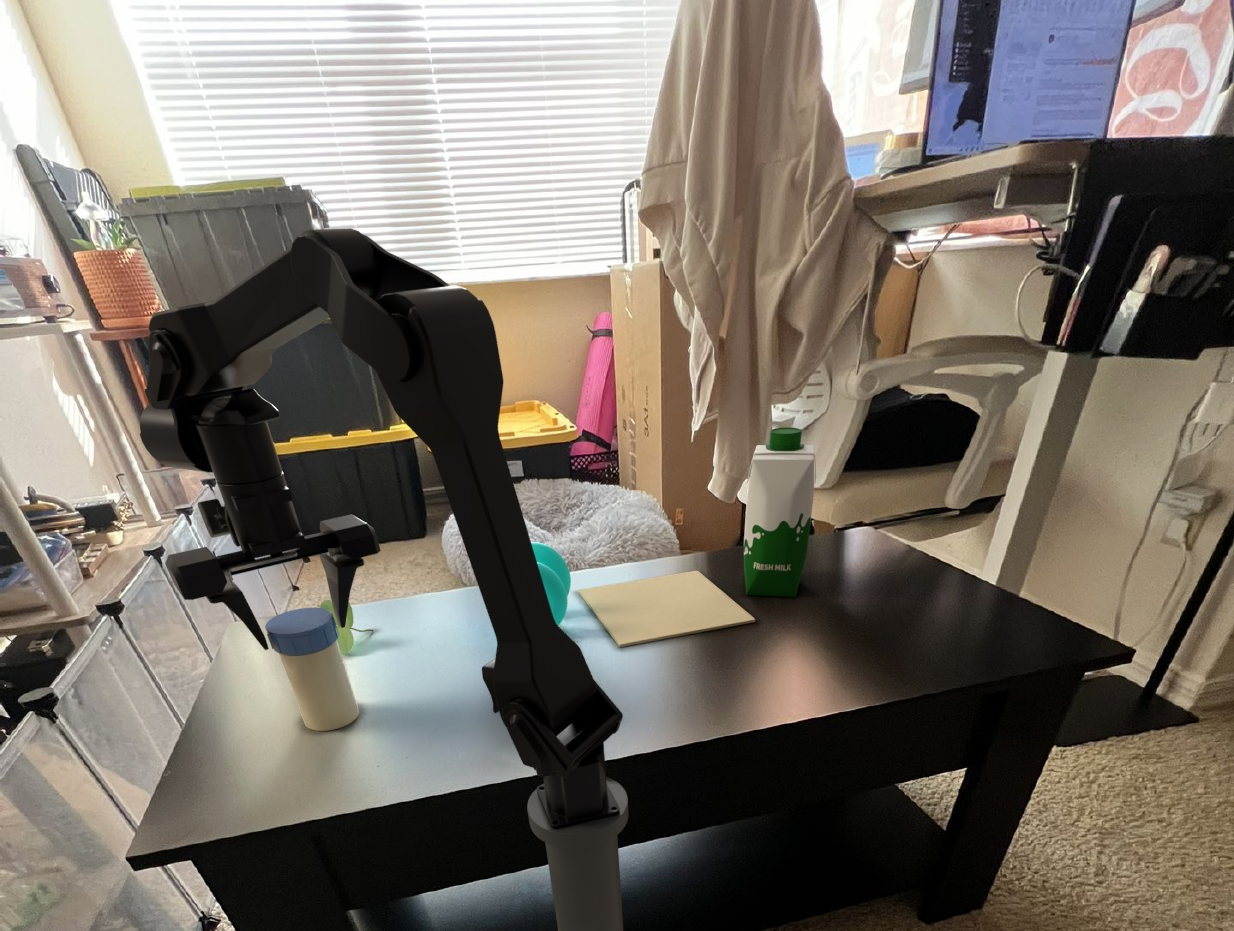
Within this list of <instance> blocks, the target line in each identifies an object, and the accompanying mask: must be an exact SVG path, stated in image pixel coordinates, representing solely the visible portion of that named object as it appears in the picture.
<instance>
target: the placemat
mask: <svg viewBox="0 0 1234 931" xmlns="http://www.w3.org/2000/svg"><path fill="white" fill-rule="evenodd" d="M577 593H578V594H579V595H580V597H581V598H582V600H583V601H584V602H585V603H586V604H587V606H588V607H589V608H590V610H591V611H592V613H593V614H594V615H595V617H596V618H597V620H598V621H599V623H601V624H602V626H603V628H604V629H605V630H606V631H607V632H608V634H609V635H610V636H611V638H612V639H613V641H614V642H615V643H616V645H617V646H618V647H619V648H623V647H629V646H634V645H640V644H644V643H650V642H656V641H661V640H666V639H671V638H677V637H682V636H688V635H692V634H698V633H703V632H709V631H715V630H720V629H725V628H730V627H737V626H741V625H747V624H748V625H749V624H752V623H756V622H757V621H756V619H755V617H753V615H752V614H750V613H749V612H748V611H746V609H744V608H743V607H742V606H740V605H739V604H738V603H737V602H735V601H734V600H733V599H732V598H731V597H730V596H729V595H727V593H725V592H724V591H723V590H722V589H720V588H719V587H718V586H716V585H715V584H714V583H713V582H712V581H711V580H710V579H708V578H707V577H706V576H705V575H704V574H702V573H701V572H700V571H699V570H691V571H685V572H679V573H673V574H667V575H661V576H655V577H650V578H644V579H637V580H631V581H626V582H619V583H614V584H613V583H612V584H607V585H601V586H596V587H589V588H583V589H578V592H577Z"/></svg>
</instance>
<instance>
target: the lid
mask: <svg viewBox="0 0 1234 931" xmlns="http://www.w3.org/2000/svg"><path fill="white" fill-rule="evenodd" d="M264 626H265V627H264V628H265V630H266V636H267V639H268V641H269V644H270V646H271V649H272V650H273V651H274V652H275V653H277V654H278V653H280V654H284V655H302V654H308V653H312V652H316V651H319V650H322V649H324V648H326V647H328V646H330V645H332V644H333V643H334V642H335V641H336V640H337V639H338V636H339V635H338V630H337V626H336V623H335V620H334V617H333V615H332V613H331V612H330V611H329V610H327V609H323V608H320V607H301V608H296V609H291V610H288V611H285V612H282V613H280V614H277V615H275V616H274V617H273V616H272V618H270V619H269V620H268V621H267V622H266V623H265V625H264Z"/></svg>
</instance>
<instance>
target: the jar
mask: <svg viewBox="0 0 1234 931" xmlns="http://www.w3.org/2000/svg"><path fill="white" fill-rule="evenodd" d="M277 654H278V656H279V659H280V662H281V665H282V667H283V670H284V672H285V675H286V678H287V680H288V683H289V687H290V688H291V691H292V694H293V697H294V700H295V702H296V704H297V707H298V710H299V712H300V715H301V718H302V720H303V723H304V725H305V727H306V728H308V729H309V730H311V731H316V732H329V731H333V730H337V729H341V728H344V727H346V726H348V725H351V724H352V723H353V722H354V721H356V719H357V718H358V717H359V716H360V715H359V714H360V709H359V706H358V703H357V699H356V695H355V693H354V690H353V687H352V683H351V680H350V677H349V674H348V670H347V668H346V664H345V662H344V658H343V654H341V651H340V648H339V645H338V642H337V640H336V641H335V642H334V643H333V644H332V645H330V646H328V647H326V648H324V649H322V650H319V651H316V652H312V653H308V654H302V655H284V654H280V653H277Z"/></svg>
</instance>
